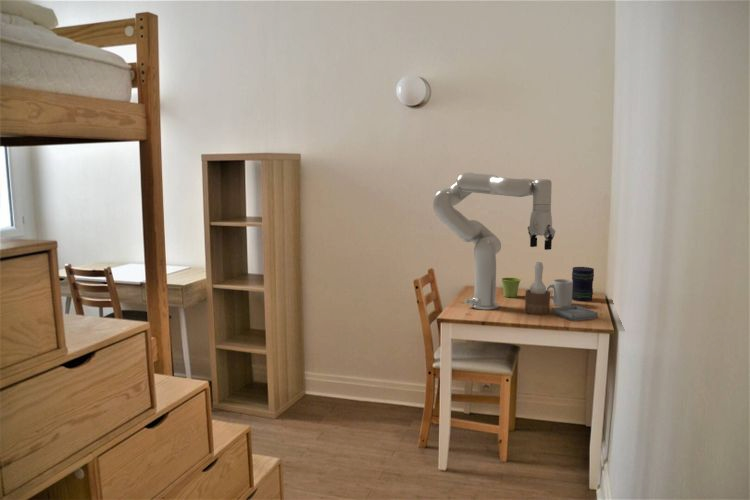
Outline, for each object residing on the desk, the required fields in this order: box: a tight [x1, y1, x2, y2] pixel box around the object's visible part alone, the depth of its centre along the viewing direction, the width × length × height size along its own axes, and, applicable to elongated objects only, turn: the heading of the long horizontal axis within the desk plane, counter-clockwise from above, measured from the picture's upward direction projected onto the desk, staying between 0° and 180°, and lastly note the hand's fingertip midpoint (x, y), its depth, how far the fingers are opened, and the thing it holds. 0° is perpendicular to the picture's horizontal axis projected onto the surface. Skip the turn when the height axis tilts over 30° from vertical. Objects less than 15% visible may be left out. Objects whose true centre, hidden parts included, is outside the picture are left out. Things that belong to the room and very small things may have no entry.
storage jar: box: [571, 266, 595, 303], centre depth 281 cm, size 10×10×15 cm
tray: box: [551, 305, 599, 322], centre depth 251 cm, size 13×13×2 cm
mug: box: [546, 278, 573, 307], centre depth 271 cm, size 12×8×11 cm
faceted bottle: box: [529, 261, 547, 294], centre depth 256 cm, size 6×6×22 cm
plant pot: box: [500, 277, 522, 299], centre depth 287 cm, size 9×9×9 cm
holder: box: [524, 289, 551, 316], centre depth 257 cm, size 10×10×9 cm
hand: (540, 248), depth 254 cm, fingers open, 9 cm apart
